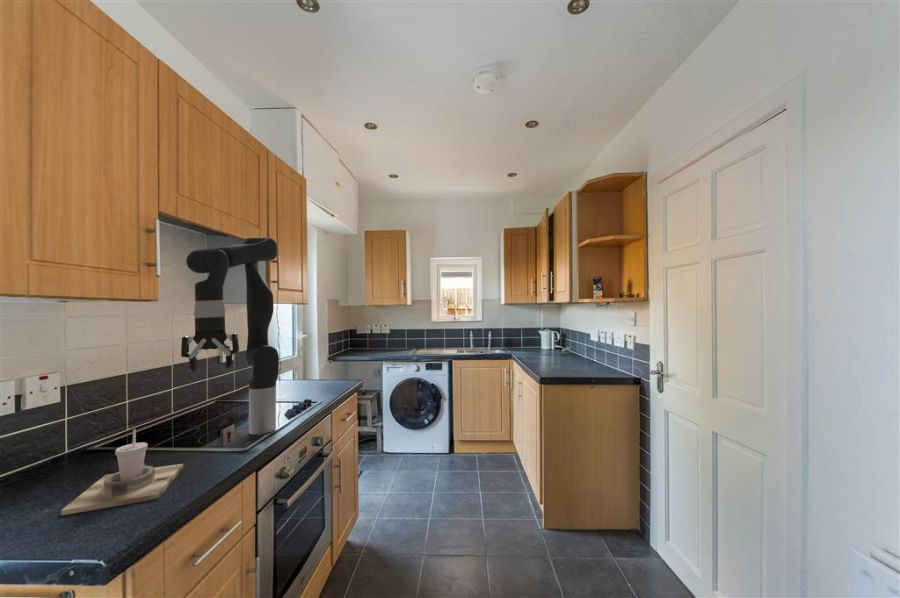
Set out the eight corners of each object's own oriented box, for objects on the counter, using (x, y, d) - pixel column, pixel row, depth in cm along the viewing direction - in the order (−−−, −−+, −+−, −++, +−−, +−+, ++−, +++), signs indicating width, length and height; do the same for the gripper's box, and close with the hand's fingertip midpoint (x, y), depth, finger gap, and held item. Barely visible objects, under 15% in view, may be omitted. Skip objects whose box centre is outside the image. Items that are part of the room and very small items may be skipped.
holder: (105, 479, 96) (105, 466, 96) (183, 467, 102) (183, 455, 103) (61, 515, 79) (61, 499, 79) (157, 498, 86) (158, 483, 86)
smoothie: (153, 478, 94) (154, 427, 94) (127, 491, 87) (127, 435, 88) (135, 476, 95) (135, 425, 95) (107, 488, 89) (108, 434, 89)
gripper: (239, 314, 110) (241, 364, 110) (185, 316, 104) (187, 369, 104) (234, 315, 103) (236, 369, 103) (176, 317, 97) (178, 374, 97)
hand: (211, 369), depth 104 cm, fingers open, 8 cm apart
